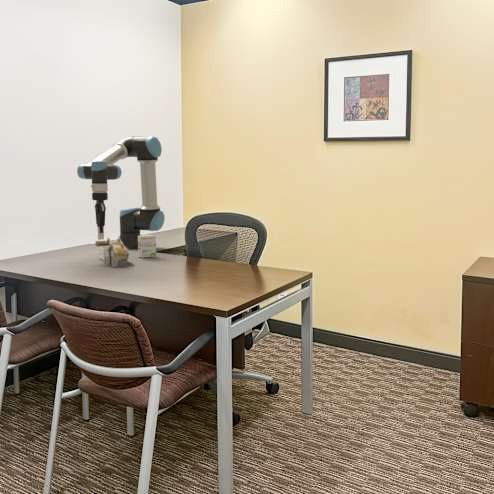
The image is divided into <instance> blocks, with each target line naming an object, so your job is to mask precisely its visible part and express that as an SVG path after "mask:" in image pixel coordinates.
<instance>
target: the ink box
mask: <svg viewBox="0 0 494 494" xmlns="http://www.w3.org/2000/svg"><path fill="white" fill-rule="evenodd" d="M156 239H157V236H156V235H154V234H146V235H141V236H138V248H137V257H138V256H139V257H152V258H155V257H154V256H156V257H157V249H156V248H157V243H156V242H157V240H156ZM139 257H138V258H139Z"/></svg>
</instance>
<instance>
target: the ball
mask: <svg viewBox="0 0 494 494" xmlns="http://www.w3.org/2000/svg"><path fill="white" fill-rule="evenodd" d="M119 253H125V250H124V249H123V248H120V249H118V254H119Z"/></svg>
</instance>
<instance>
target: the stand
mask: <svg viewBox="0 0 494 494" xmlns="http://www.w3.org/2000/svg"><path fill="white" fill-rule="evenodd" d="M125 248H126V250H127V251H128V252H129V249H128V248H127V246H125ZM107 252H108V255H109V260H107V261H103V260H102V262H103V263H104V264H105V265H107V266H109V267H110V268H112V269H113V268H125V267H126V266H127V267H135V265H134V263H132V262H130V261H128V259H121V260H111V247H108V249H107ZM127 267H126V268H127Z"/></svg>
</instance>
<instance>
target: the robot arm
mask: <svg viewBox="0 0 494 494" xmlns="http://www.w3.org/2000/svg"><path fill="white" fill-rule="evenodd" d="M162 149H163V148H162V144H161V142H160V139H159V138H158V137H156V136H149V135H146V136H145V135H144V136H134V135H133V136H128V137H125V138H124V139H121V140H119V141H117V142H115V143H114V144H113V146H112V148H110V149H108V150H107V151H105V152H104V153H103V154H101V155H99V156H98V157H96V158H95V159H93V160H92V161H90V162H89V163H86V164H85V163H84V164H80V165H78V167H77V169H76V172H77V176H78V178H79V179H80V180H81V179H82V180H83V179H84V180H91V185H90V187H91V192H92V193H91V199H92V200H93V201H96V202H95V204H94V209H95V210H94V211H95V222H96V227H97V241H102V240H105V230H104V227H105V225H106V209H107V208H106V205H105V204H106V203H105V201H108V200H109V199H108V197H109V196H108V194H109V193H108V191H109V188H108V181H109V180H110V181H111V180H113V181H115V180H119V179H120V178H121V176H122V169H121V167H120V166H119V165H117V164H116V163H117V162H118V161H120V160H125V159H126V158H136V160H137V162H138V163H139V166H140V168H139V169H140V187H141V206H140V207H133V208H131V207H130V208H124V209H120V211H119V232H120V233H119V237H120V239H121V241H122V243H123V244H124V246H127V248H128V250H129V249H133V250H134V249H138V236H142V234H141V231H150V232H154V231H155V232H156V231H157V232H159V231H160V230H161V229H162V228H163V225H164V224H165V214H164V212H163V211H162V210H161V207H160V206H159V205H158V195H157V194H158V192H157V191H158V190H157V188H158V187H157V171H156V163H157V162H158V160H159V157H161V156H162Z"/></svg>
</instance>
